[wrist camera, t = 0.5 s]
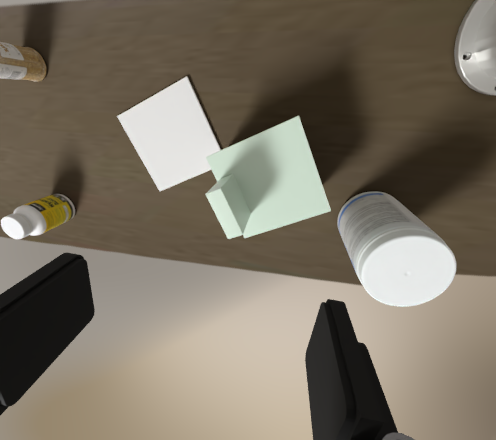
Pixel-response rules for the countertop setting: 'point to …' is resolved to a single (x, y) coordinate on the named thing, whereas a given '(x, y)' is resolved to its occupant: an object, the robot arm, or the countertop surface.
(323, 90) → the countertop surface
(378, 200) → the supplement tub
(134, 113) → the mat
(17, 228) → the supplement bottle
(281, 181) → the lid
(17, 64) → the sprinkles bottle
